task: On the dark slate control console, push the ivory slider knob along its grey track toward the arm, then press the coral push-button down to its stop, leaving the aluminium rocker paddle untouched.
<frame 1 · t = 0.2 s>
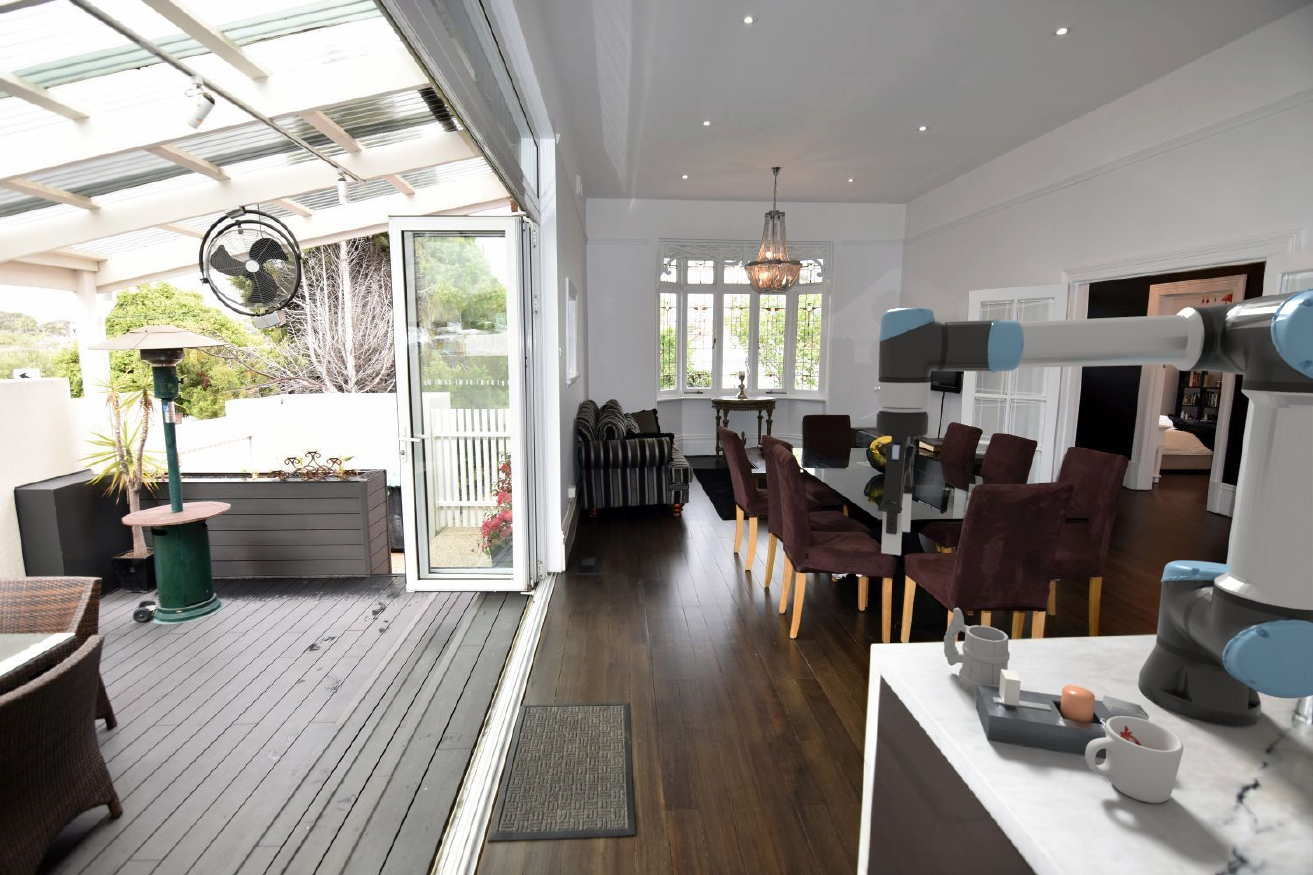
hand: (896, 541, 99), 27 cm above the kitchen island, fingers open, 13 cm apart
slider: (1009, 687, 94), point 6 cm above the kitchen island, slide at 0.0 cm
rocker: (1125, 709, 90), point 6 cm above the kitchen island, hinge at -10.0°
button: (1077, 707, 92), point 5 cm above the kitchen island, slide at 0.0 cm
console: (1059, 734, 93), on the kitchen island
cup: (1126, 790, 81), on the kitchen island
mug: (972, 683, 108), on the kitchen island
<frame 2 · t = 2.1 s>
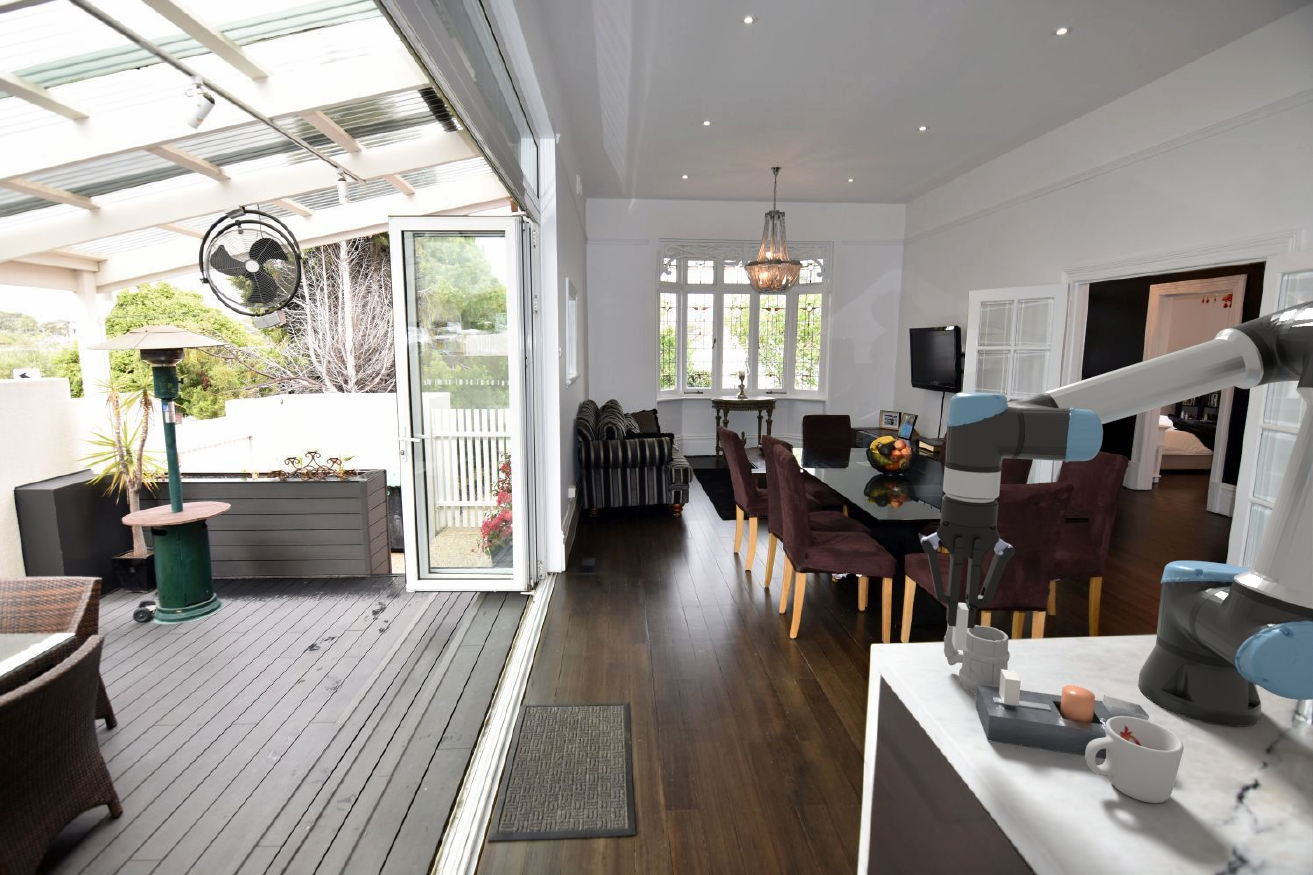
hand: (958, 645, 95), 12 cm above the kitchen island, fingers closed
nothing on the kitchen island moved.
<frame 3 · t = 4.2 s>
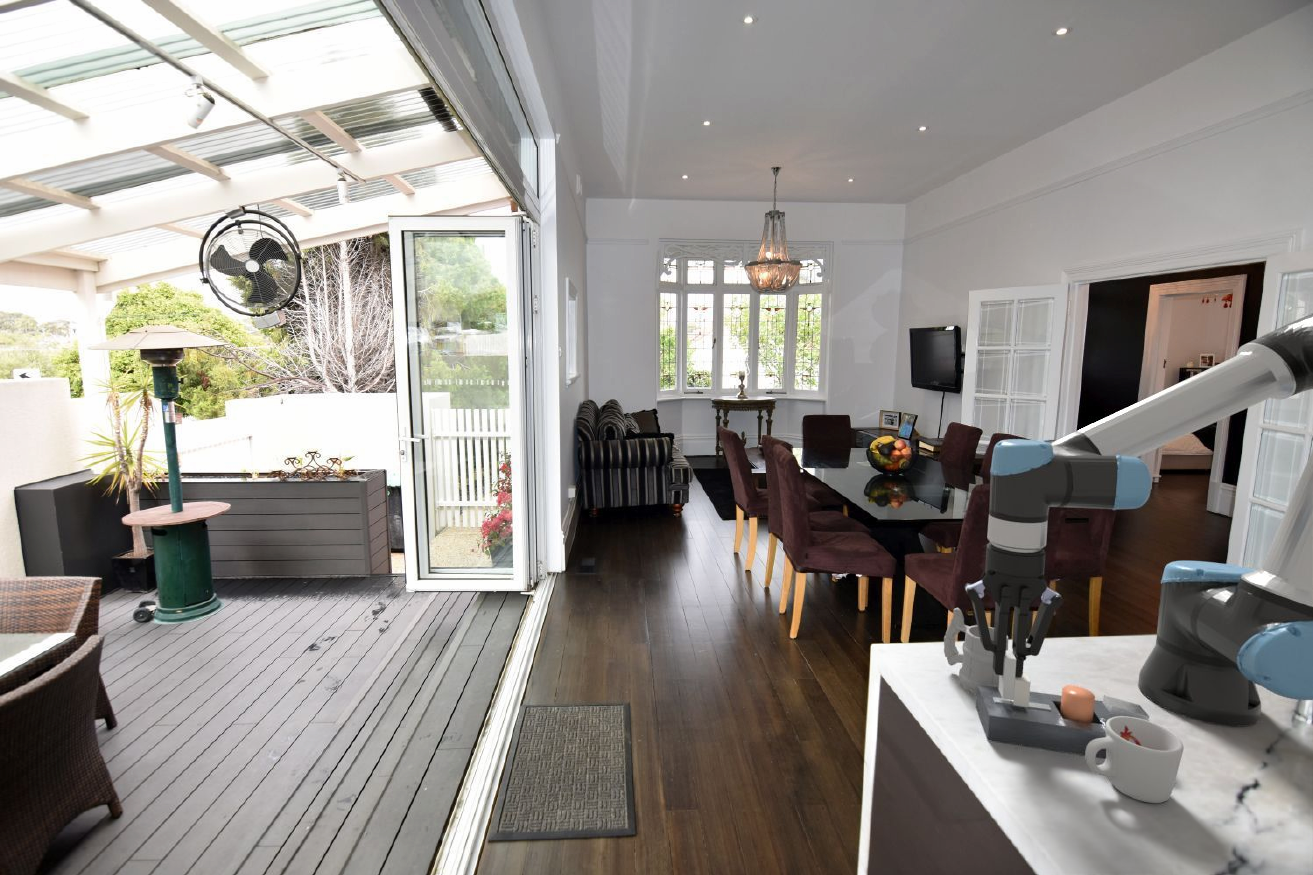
hand: (1005, 694, 94), 5 cm above the kitchen island, fingers closed
slider: (1019, 688, 94), point 6 cm above the kitchen island, slide at 1.3 cm, touching gripper
everything else where it was.
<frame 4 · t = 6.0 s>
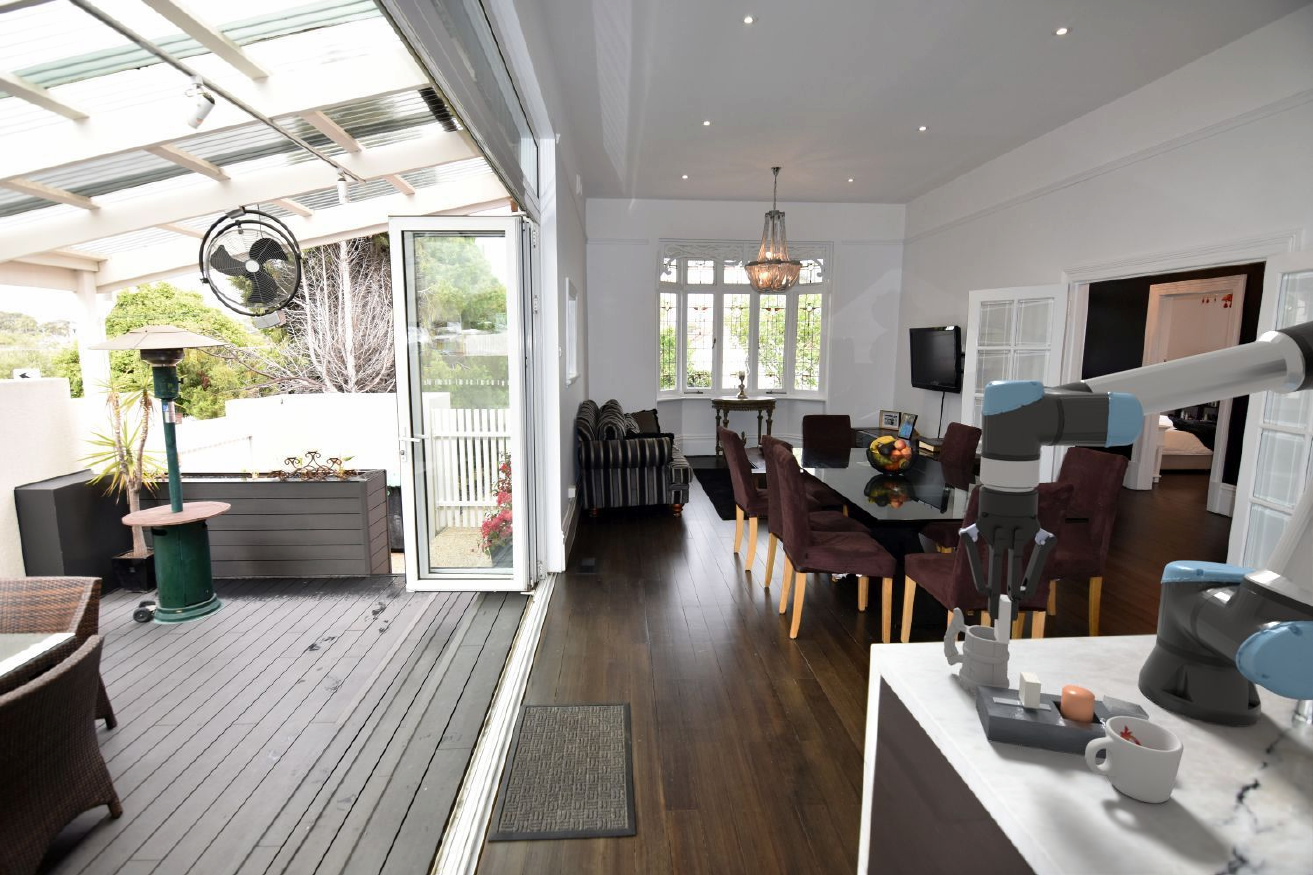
hand: (1001, 639, 94), 14 cm above the kitchen island, fingers closed
slider: (1029, 689, 93), point 7 cm above the kitchen island, slide at 2.7 cm
everything else where it was.
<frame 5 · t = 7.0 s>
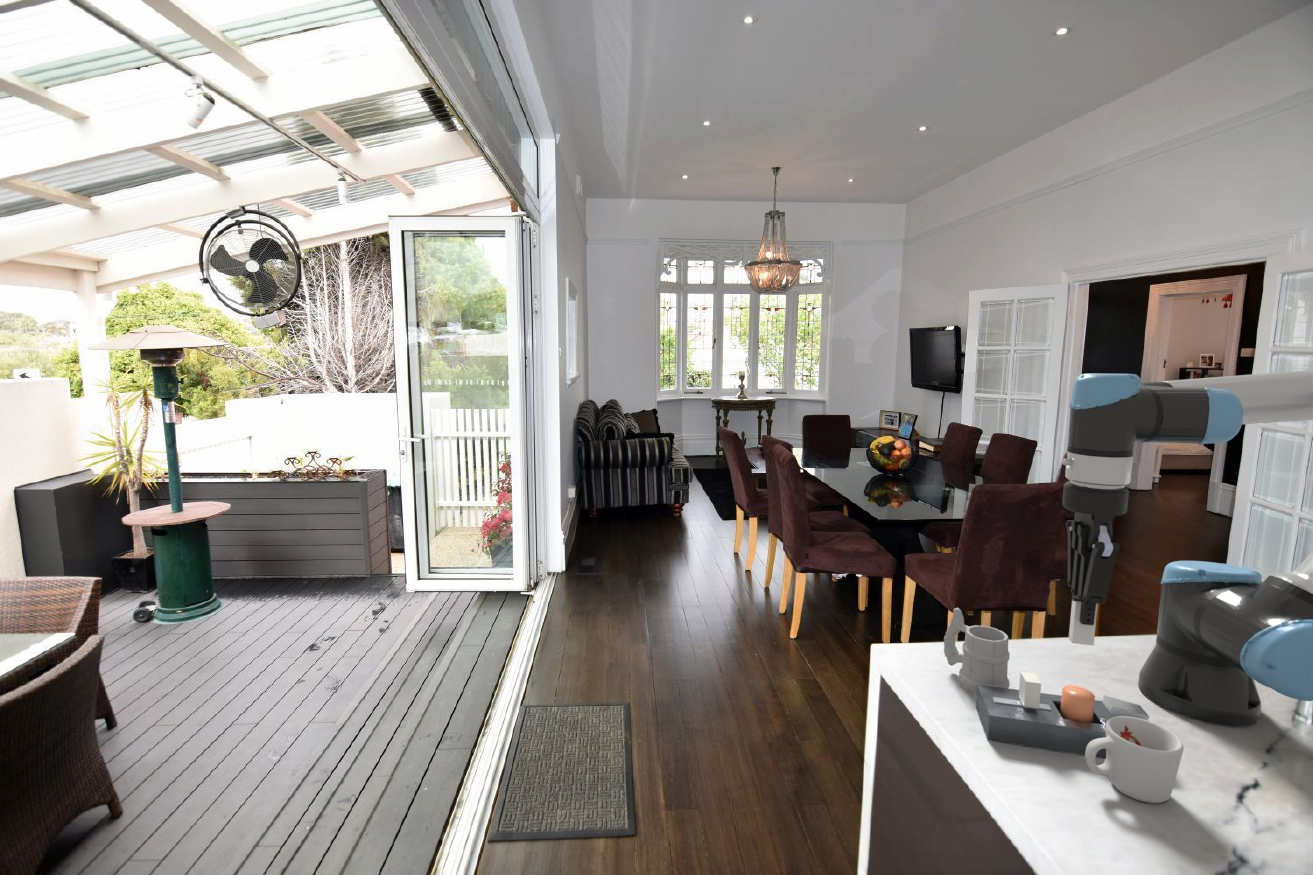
hand: (1081, 641, 90), 15 cm above the kitchen island, fingers closed
nothing on the kitchen island moved.
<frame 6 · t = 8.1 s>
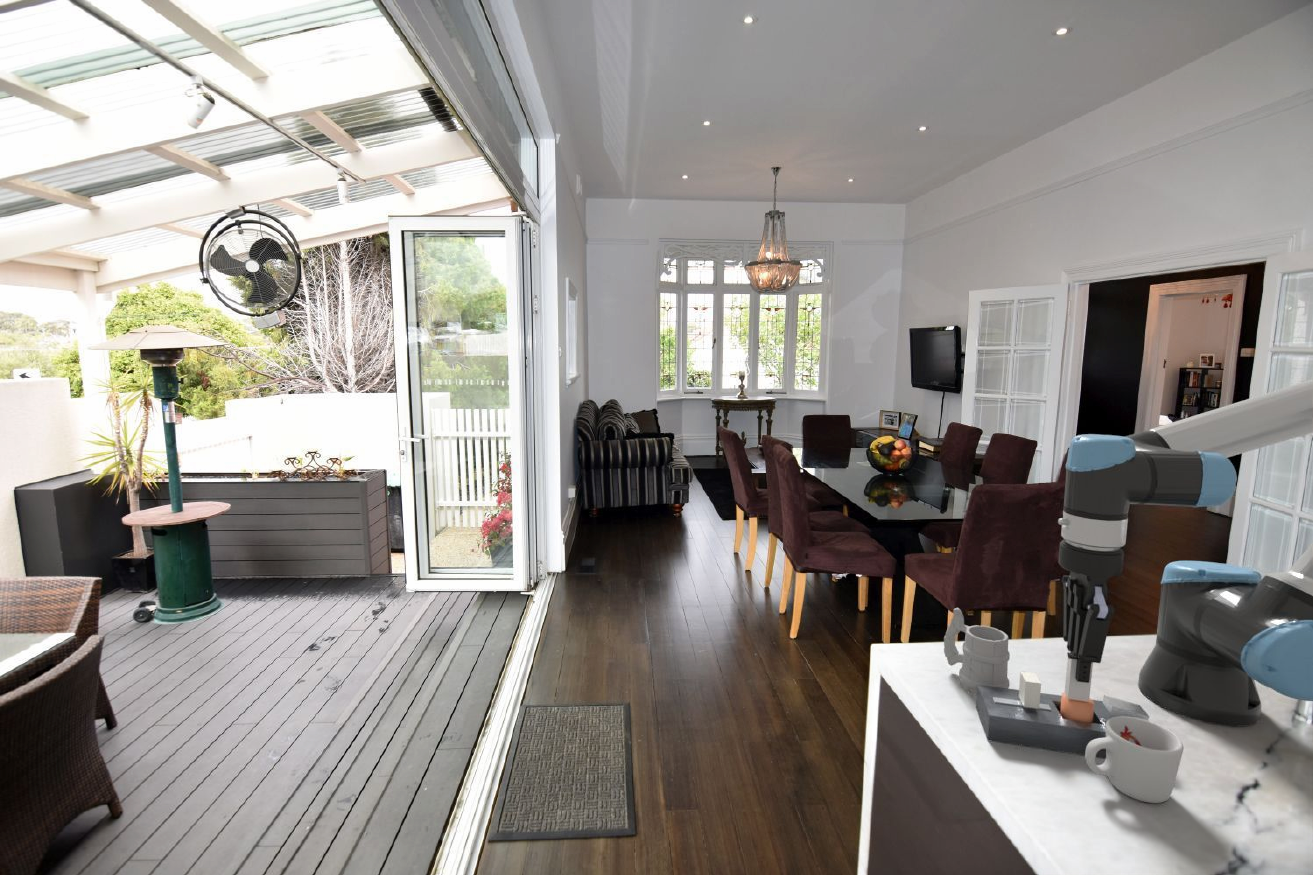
hand: (1076, 697, 91), 6 cm above the kitchen island, fingers closed
button: (1076, 714, 92), point 4 cm above the kitchen island, slide at 1.1 cm, touching gripper
everything else where it was.
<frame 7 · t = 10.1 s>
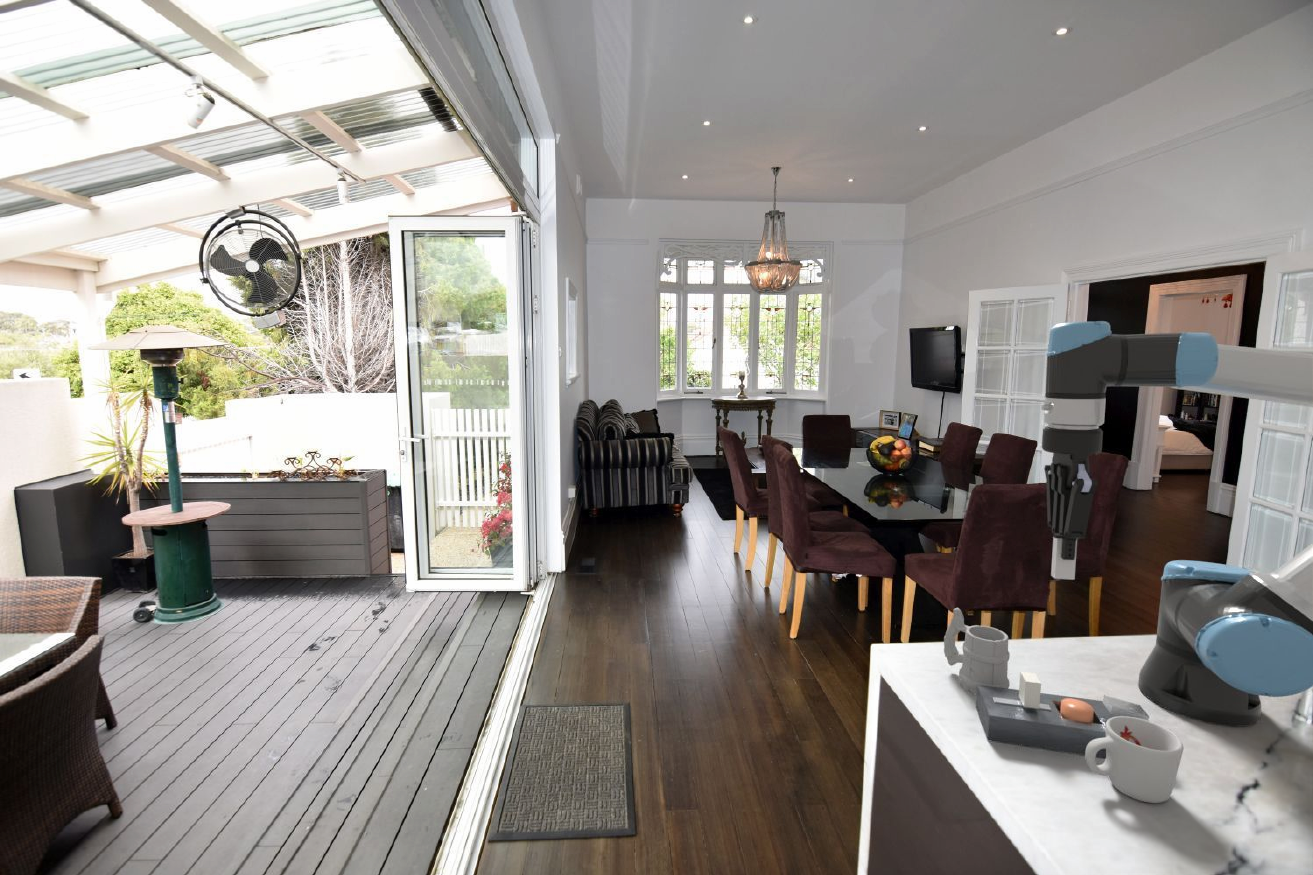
hand: (1062, 577, 96), 22 cm above the kitchen island, fingers closed
button: (1075, 720, 92), point 3 cm above the kitchen island, slide at 2.1 cm
everything else where it was.
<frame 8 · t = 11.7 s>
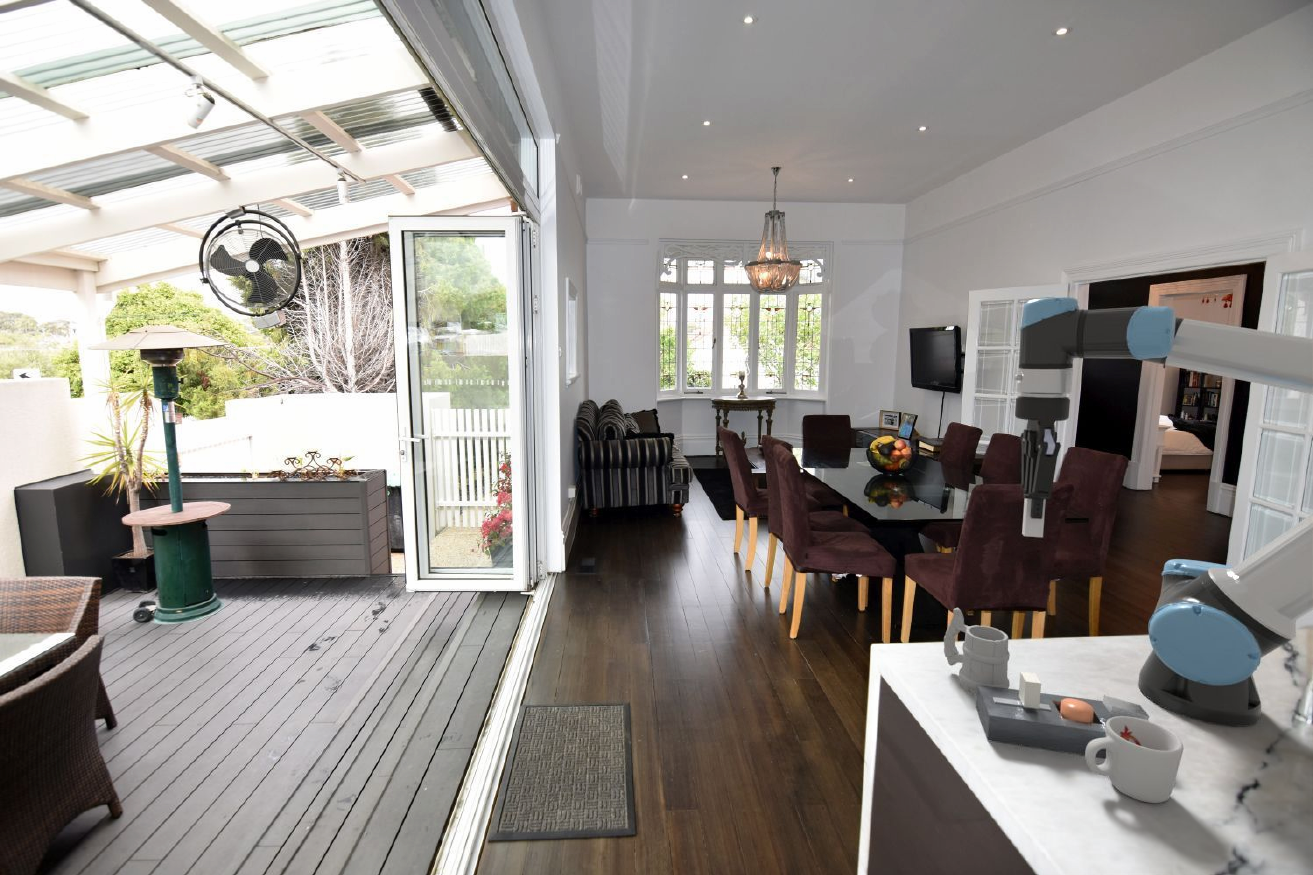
hand: (1032, 535, 104), 26 cm above the kitchen island, fingers closed
nothing on the kitchen island moved.
at the end: slider slide at 2.7 cm; button slide at 2.1 cm; rocker at -10° (first picture: -10°) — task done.
